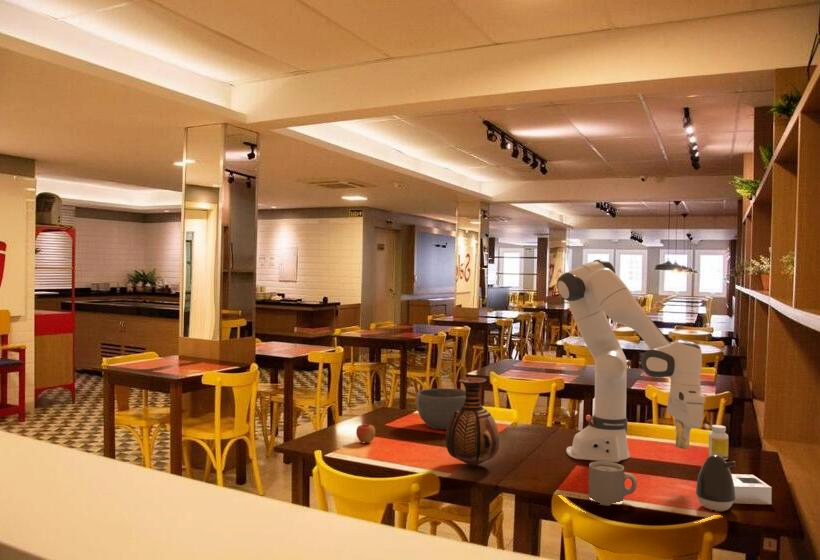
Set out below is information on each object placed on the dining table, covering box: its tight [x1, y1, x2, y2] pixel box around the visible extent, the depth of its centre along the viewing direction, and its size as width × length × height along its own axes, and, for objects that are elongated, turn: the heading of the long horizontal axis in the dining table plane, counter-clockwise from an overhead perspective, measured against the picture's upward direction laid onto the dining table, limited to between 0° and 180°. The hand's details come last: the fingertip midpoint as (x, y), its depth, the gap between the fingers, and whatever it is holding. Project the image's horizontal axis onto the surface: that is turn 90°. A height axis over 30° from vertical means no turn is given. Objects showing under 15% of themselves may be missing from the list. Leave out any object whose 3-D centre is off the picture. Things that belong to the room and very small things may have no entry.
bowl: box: [415, 387, 466, 430], centre depth 283 cm, size 24×24×15 cm
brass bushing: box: [675, 421, 691, 450], centre depth 210 cm, size 4×4×8 cm
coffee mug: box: [588, 461, 638, 507], centre depth 195 cm, size 13×10×10 cm
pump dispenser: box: [695, 455, 737, 512], centre depth 189 cm, size 10×10×15 cm
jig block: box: [731, 473, 773, 505], centre depth 199 cm, size 14×12×5 cm
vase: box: [445, 377, 500, 468], centre depth 227 cm, size 21×18×30 cm
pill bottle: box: [708, 424, 730, 461], centre depth 241 cm, size 6×6×12 cm
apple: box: [356, 422, 376, 443], centre depth 256 cm, size 7×7×8 cm
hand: (682, 435), depth 210 cm, fingers closed on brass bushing, 4 cm apart
